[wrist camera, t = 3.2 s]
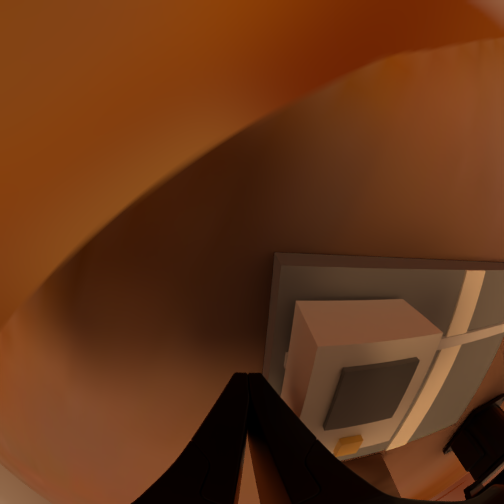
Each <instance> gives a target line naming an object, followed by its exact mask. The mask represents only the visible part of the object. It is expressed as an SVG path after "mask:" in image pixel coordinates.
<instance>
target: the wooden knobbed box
mask: <svg viewBox="0 0 504 504" xmlns="http://www.w3.org/2000/svg"><path fill="white" fill-rule="evenodd" d="M342 463H343V464H345V465H346V466H347V467H348V468H350V469H351V470H352V471H354V472H355V473H356V474H358V475H359V476H360V477H362V478H363V479H365V480H366V481H367V482H369V483H370V484H372V485H373V486H375V487H376V488H377V489H379V490H381V491H382V492H384V493H386V494H389V495H392V496H395V497H399V498H401V496H400V494H399V492H398V490H397V487H396V485H395V483H394V481H393V479H392V477H391V475H390V472H389V470H388V468H387V466H386V464H385V462H384V460H383V458H382V456H381V453H378V454H375V455H371V456H367V457H363V458H359V459H354V460H350V461H345V462H342Z"/></svg>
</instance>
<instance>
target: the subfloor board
mask: <svg viewBox="0 0 504 504" xmlns="http://www.w3.org/2000/svg"><path fill="white" fill-rule="evenodd" d="M385 299H403V300H405V301H406V302H407V303H408V304H410V305H411V306H412V307H413V308H415V309H416V310H417V311H418V312H419V313H421V314H422V315H423V316H424V317H425V318H427V319H428V320H429V321H430V322H431V323H432V324H434V325H435V326H436V327H437V328H438V329H440V330H441V331H442V332H443V335H442V337H441V340H440V343H439V345H438V348H437V350H436V353H435V355H434V357H433V360H432V362H431V364H430V366H429V369H428V371H427V373H426V375H425V377H424V379H423V381H422V383H421V386H420V388H419V389H418V391H417V393H416V395H415V397H414V399H413V401H412V403H411V405H410V406H409V408H408V410H407V412H406V414H405V415H404V417H403V419H402V420H401V422H400V424H399V425H398V427H397V429H396V430H395V432H394V433H393V435H392V436H391V438H390V440H389V441H386V442H382V443H379V444H375V445H371V446H367V447H363V448H359V449H358V451H357V452H356V453H354V454H349V455H344V456H339V457H336V458H337V459H339V460H340V461H341V460H346V459H350V458H355V457H359V456H364V455H368V454H371V453H375V452H379V451H382V450H386V451H387V450H390V449H393V448H396V447H400V446H403V445H406V443H408V442H411V441H414V440H416V439H419V438H422V437H424V436H427V435H429V434H432V433H434V432H437V431H439V430H441V429H444V428H446V427H448V426H450V425H453V424H455V423H456V422H457V421H458V419H459V418H460V417H461V415H462V414H463V412H464V410H465V409H466V407H467V406H468V404H469V403H470V401H471V399H472V398H473V396H474V394H475V393H476V391H477V389H478V388H479V386H480V384H481V382H482V380H483V379H484V377H485V375H486V373H487V371H488V369H489V367H490V365H491V363H492V361H493V359H494V357H495V355H496V353H497V350H498V348H499V346H500V344H501V341H502V339H503V337H504V263H502V262H480V261H458V260H436V259H414V258H392V257H369V256H347V255H325V254H302V253H280V252H274V263H273V274H272V285H271V296H270V307H269V317H268V327H267V336H266V346H265V355H264V364H263V373H262V375H263V376H264V377H265V379H266V380H267V381H268V382H269V384H270V385H271V386H272V387H273V388H274V390H275V391H276V392H277V393H278V394H279V396H280V397H281V392H282V386H283V381H284V375H285V369H286V363H287V357H288V351H289V345H290V338H291V332H292V325H293V318H294V311H295V304H296V301H344V300H385ZM333 455H334V453H333ZM334 456H335V455H334Z"/></svg>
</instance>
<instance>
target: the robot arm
mask: <svg viewBox="0 0 504 504" xmlns="http://www.w3.org/2000/svg"><path fill="white" fill-rule="evenodd" d="M503 401H504V394H502V395H501V396H499V397H497V398H496V399H494V400H492V401H491V402H489V403H487V404H485V405H484V406H482V407H480V408H478V409H476V410H475V411H473V412H472V413H471V415H470V416H469V418H468V419H467V420H466V422H465V423H464V425H463V426H462V427H461V429H460V430H459V431H458V433H457V434H456V435H455V437H454V438H453V439H452V441H451V442H450V443H449V444H448V446H447V447H446V448H445V449H444V450H443V453H444V454H447V453H449V452H451V451H453V452H454V453H455V455H456V456H457V458H458V459H459V461H460V462H461V464H462V465H463V467H464V468H465V470H466V471H467V472H468V471H469V472H470V474H471V475H472V477H473V479H474V480H475V482H474V483H473V484H471V485H470V486H468V487H467V488H465V489H464V493H465V498H466V500H465V501H456V502H445V501H427V500H415V499H406V498H399V497H395V496H392V495H389V494H386V493H384V492H382V491H381V490H379V489H377V488H376V487H375V486H373V485H372V484H370V483H369V482H367V481H366V480H365V479H363V478H362V477H360V476H359V475H358V474H356V473H355V472H354V471H352V470H351V469H350V468H348V467H347V466H346V465H345V464H343V463H342V462H341V461H340V460H339V459H337V458H336V457H335V456H334V455H333V454H332V453H331V452H330V451H329V450H328V449H327V448H326V447H325V446H324V445H323V444H322V443H321V442H320V441H319V440H318V439H317V438H316V436H315V435H314V434H313V433H312V432H311V431H310V430H309V429H308V428H307V427H306V425H305V424H304V423H303V422H302V421H301V420H300V419H299V418H298V416H297V415H296V414H295V413H294V412H293V411H292V410H291V408H290V407H289V406H288V405H287V404H286V403H285V401H284V400H283V399H282V398H281V397H280V396H279V394H278V393H277V392H276V391H275V390H274V388H273V387H272V386H271V385H270V384H269V382H268V381H267V380H266V379H265V377H264V376H263V375H262V374H261V373H248V374H247V373H238V372H236V373H234V374H233V376H232V377H231V379H230V381H229V382H228V384H227V385H226V387H225V388H224V390H223V392H222V393H221V395H220V396H219V398H218V400H217V401H216V403H215V404H214V406H213V407H212V409H211V410H210V412H209V413H208V415H207V416H206V418H205V420H204V421H203V423H202V424H201V426H200V427H199V429H198V430H197V432H196V433H195V435H194V436H193V437H192V439H191V441H190V442H189V443H188V445H187V446H186V448H185V449H184V450H183V452H182V453H181V454H180V456H179V457H178V458H177V459H176V461H175V462H174V463H173V464H172V465H171V466H170V467H169V468H168V470H167V471H166V472H165V473H164V474H163V475H162V476H161V477H160V478H159V479H158V480H157V481H156V482H155V483H153V484H152V485H151V486H150V487H149V488H148V489H147V490H146V491H145V492H144V493H143V494H142V495H141V496H140V497H138V498H137V499H136V500H135V501H134V502H132V503H131V504H238V500H239V493H240V485H241V478H242V471H243V463H244V455H245V447H246V439H247V435H248V442H249V447H250V453H251V458H252V464H253V469H254V474H255V479H256V484H257V489H258V494H259V499H260V504H504V469H503V470H502V471H501V472H500V473H499V474H498V475H497V476H496V477H495V478H494V479H492V480H491V482H489V483H488V484H487V485H486V486H483V485H482V484H483V483H484V482H486V481H487V480H488V479H489V478H490V477H491V476H492V475H493V474H495V473H496V472H497V471H498V470H499V469H500V468H501V467H502V466H503V465H504V411H503V410H502V409H501V408H500V406H501V404H502V402H503Z"/></svg>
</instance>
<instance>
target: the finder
mask: <svg viewBox="0 0 504 504" xmlns="http://www.w3.org/2000/svg"><path fill="white" fill-rule="evenodd" d="M442 335H443V332H442V331H441V330H440V329H438V328H437V327H436V326H435V325H434V324H432V323H431V322H430V321H429V320H428V319H427V318H425V317H424V316H423V315H422V314H421V313H419V312H418V311H417V310H416V309H415V308H413V307H412V306H411V305H410V304H408V303H407V302H406V301H405V300H403V299H385V300H344V301H296V304H295V311H294V318H293V325H292V332H291V338H290V345H289V351H288V357H287V363H286V369H285V375H284V381H283V386H282V392H281V398H282V399H283V400H284V401H285V403H286V404H287V405H288V406H289V407H290V408H291V410H292V411H293V412H294V413H295V414H296V415H297V416H298V418H299V419H300V420H301V421H302V422H303V423H304V424H305V425H306V427H307V428H308V429H309V430H310V431H311V432H312V433H313V434H314V435H315V436H316V438H317V439H318V440H319V441H320V442H321V443H322V444H323V445H324V446H325V447H326V448H327V449H328V450H329V451H330V452H331V453H332V454H333V453H334V455H335V457H339V456H344V455H349V454H354V453H356V452H357V451H358V449H359V448H363V447H367V446H371V445H375V444H379V443H382V442H386V441H389V440H390V438H391V436H392V435H393V433H394V432H395V430H396V429H397V427H398V425H399V424H400V422H401V420H402V419H403V417H404V415H405V414H406V412H407V410H408V408H409V406H410V405H411V403H412V401H413V399H414V397H415V395H416V393H417V391H418V389H419V388H420V386H421V383H422V381H423V379H424V377H425V375H426V373H427V371H428V369H429V366H430V364H431V362H432V360H433V357H434V355H435V353H436V350H437V348H438V345H439V343H440V340H441V337H442Z"/></svg>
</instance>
